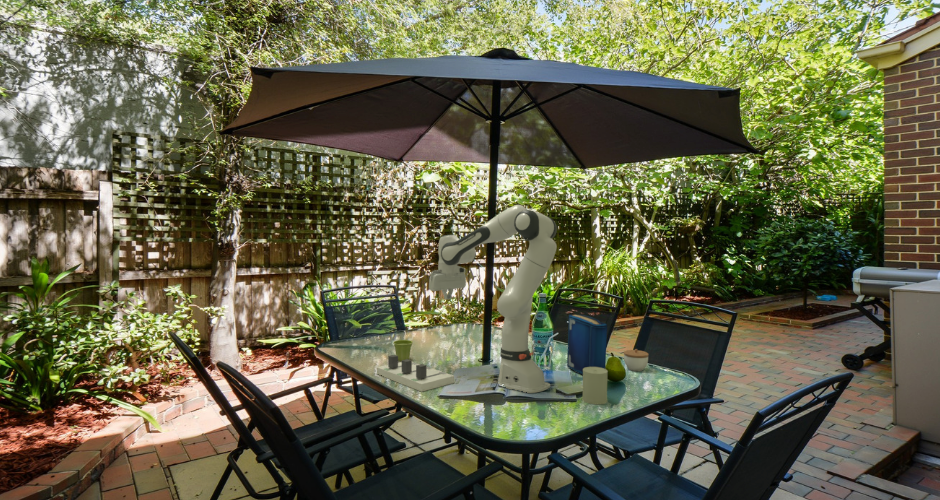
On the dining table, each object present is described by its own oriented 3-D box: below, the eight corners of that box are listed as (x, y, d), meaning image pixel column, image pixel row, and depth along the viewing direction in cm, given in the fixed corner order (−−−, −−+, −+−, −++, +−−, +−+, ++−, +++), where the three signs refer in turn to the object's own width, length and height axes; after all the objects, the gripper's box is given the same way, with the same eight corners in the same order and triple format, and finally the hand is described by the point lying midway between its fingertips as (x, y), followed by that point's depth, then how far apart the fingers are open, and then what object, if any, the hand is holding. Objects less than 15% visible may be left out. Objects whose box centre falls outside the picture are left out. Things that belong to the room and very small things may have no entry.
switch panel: (454, 382, 212) (454, 375, 212) (421, 391, 201) (421, 383, 200) (408, 366, 235) (408, 360, 235) (376, 374, 224) (376, 366, 224)
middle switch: (411, 372, 215) (411, 360, 215) (405, 373, 213) (405, 361, 213) (407, 370, 217) (407, 359, 217) (401, 372, 215) (401, 360, 215)
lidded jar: (643, 366, 239) (644, 346, 239) (651, 373, 229) (651, 352, 228) (620, 366, 240) (621, 346, 239) (627, 372, 229) (627, 351, 229)
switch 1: (398, 367, 222) (398, 356, 222) (392, 368, 220) (392, 357, 220) (394, 365, 225) (394, 354, 224) (388, 367, 223) (388, 355, 222)
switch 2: (426, 377, 208) (426, 365, 207) (420, 379, 206) (420, 366, 205) (421, 375, 210) (422, 363, 210) (416, 377, 208) (416, 365, 208)
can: (583, 403, 188) (583, 371, 188) (581, 395, 197) (581, 364, 197) (608, 405, 187) (609, 372, 186) (605, 396, 196) (606, 366, 196)
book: (608, 379, 218) (609, 321, 217) (594, 381, 215) (595, 322, 214) (579, 366, 238) (580, 313, 237) (566, 368, 235) (567, 314, 234)
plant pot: (416, 359, 250) (416, 341, 249) (404, 363, 242) (404, 345, 241) (401, 356, 254) (401, 339, 254) (389, 360, 247) (389, 342, 246)
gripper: (434, 271, 229) (434, 301, 230) (468, 268, 243) (467, 297, 244) (426, 270, 234) (425, 300, 234) (459, 267, 248) (459, 296, 248)
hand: (447, 298), depth 239 cm, fingers closed
